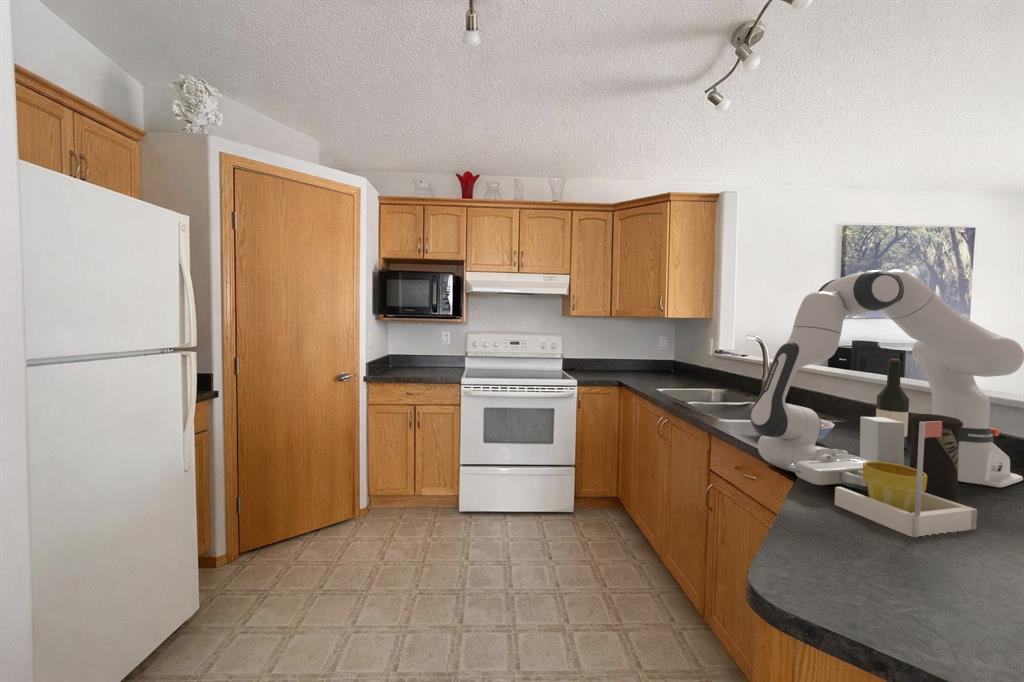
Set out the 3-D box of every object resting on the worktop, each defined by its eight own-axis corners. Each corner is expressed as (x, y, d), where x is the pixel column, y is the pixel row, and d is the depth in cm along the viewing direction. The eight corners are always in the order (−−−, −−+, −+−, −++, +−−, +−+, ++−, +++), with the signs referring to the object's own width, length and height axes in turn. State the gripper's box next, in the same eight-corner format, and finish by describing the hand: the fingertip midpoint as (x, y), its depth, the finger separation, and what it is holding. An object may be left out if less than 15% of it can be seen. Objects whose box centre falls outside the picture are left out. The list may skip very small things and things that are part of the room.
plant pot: (897, 504, 98) (900, 461, 98) (938, 525, 88) (941, 478, 88) (849, 501, 99) (851, 459, 99) (884, 522, 89) (887, 475, 89)
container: (949, 509, 96) (954, 420, 95) (898, 495, 104) (903, 412, 103) (965, 502, 100) (970, 417, 99) (915, 489, 108) (919, 410, 107)
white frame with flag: (891, 498, 102) (896, 405, 101) (976, 529, 87) (982, 420, 86) (834, 504, 98) (839, 407, 97) (912, 537, 83) (919, 423, 82)
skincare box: (904, 482, 113) (907, 423, 113) (875, 480, 114) (878, 421, 114) (883, 471, 121) (886, 416, 121) (856, 469, 123) (859, 415, 122)
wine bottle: (913, 449, 145) (918, 360, 144) (888, 449, 145) (893, 359, 144) (892, 442, 153) (896, 358, 152) (868, 442, 153) (872, 357, 152)
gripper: (783, 453, 109) (836, 471, 95) (847, 449, 113) (906, 466, 100) (782, 478, 109) (835, 500, 95) (846, 473, 114) (905, 493, 100)
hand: (872, 482), depth 98 cm, fingers closed
